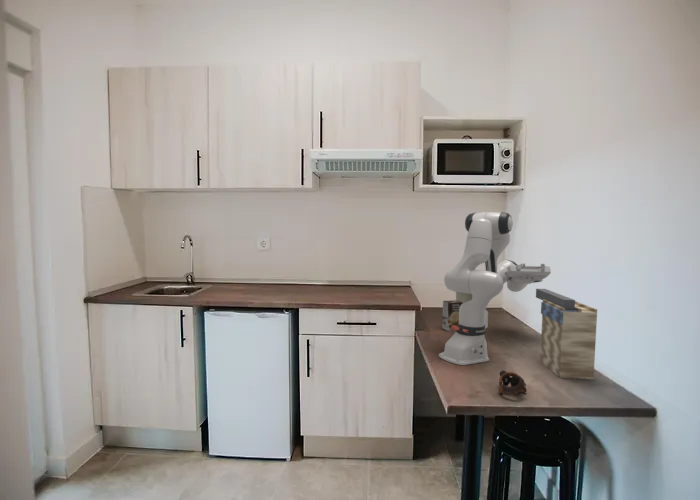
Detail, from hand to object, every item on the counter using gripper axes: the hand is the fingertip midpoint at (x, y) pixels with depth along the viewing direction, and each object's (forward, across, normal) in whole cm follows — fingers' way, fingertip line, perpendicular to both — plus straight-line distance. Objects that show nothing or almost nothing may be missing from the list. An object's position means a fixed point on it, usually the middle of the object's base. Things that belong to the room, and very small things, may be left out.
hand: (533, 264), depth 177 cm
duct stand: (+7, +2, +50) cm, 51 cm away
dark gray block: (+15, -1, +24) cm, 29 cm away
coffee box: (-41, -34, +23) cm, 58 cm away
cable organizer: (-46, -21, +20) cm, 55 cm away
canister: (-72, -17, +5) cm, 74 cm away
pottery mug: (+27, -28, +63) cm, 74 cm away
